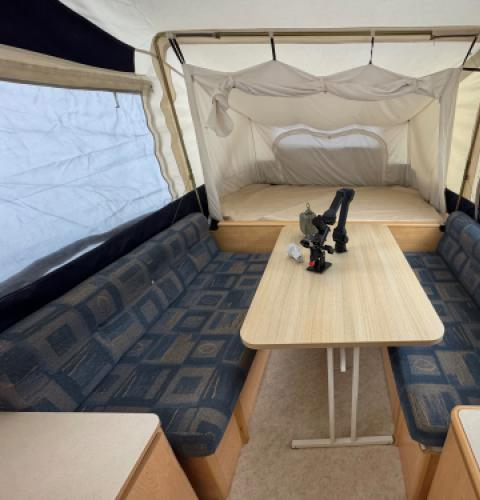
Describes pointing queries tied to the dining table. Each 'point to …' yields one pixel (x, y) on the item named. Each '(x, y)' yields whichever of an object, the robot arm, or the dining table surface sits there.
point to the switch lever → (313, 261)
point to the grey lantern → (307, 222)
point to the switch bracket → (320, 264)
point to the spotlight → (294, 252)
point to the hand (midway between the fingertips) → (310, 261)
